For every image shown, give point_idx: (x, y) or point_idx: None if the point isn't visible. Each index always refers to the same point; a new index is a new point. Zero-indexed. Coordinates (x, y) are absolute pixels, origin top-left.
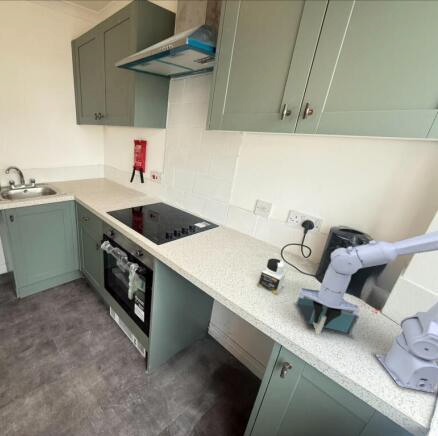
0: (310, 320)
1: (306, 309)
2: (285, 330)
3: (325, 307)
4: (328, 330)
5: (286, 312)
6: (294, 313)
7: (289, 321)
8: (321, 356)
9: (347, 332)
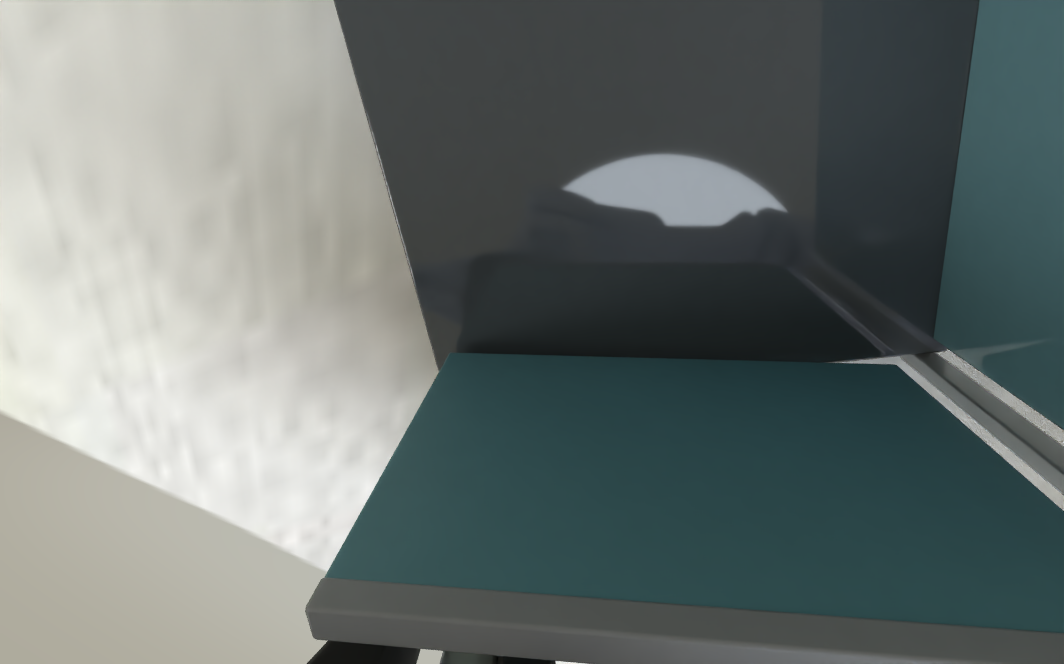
0: (440, 381)
1: (458, 23)
2: (243, 484)
3: (520, 631)
4: None
5: (213, 195)
6: (308, 171)
7: (264, 352)
8: None
9: (911, 353)
